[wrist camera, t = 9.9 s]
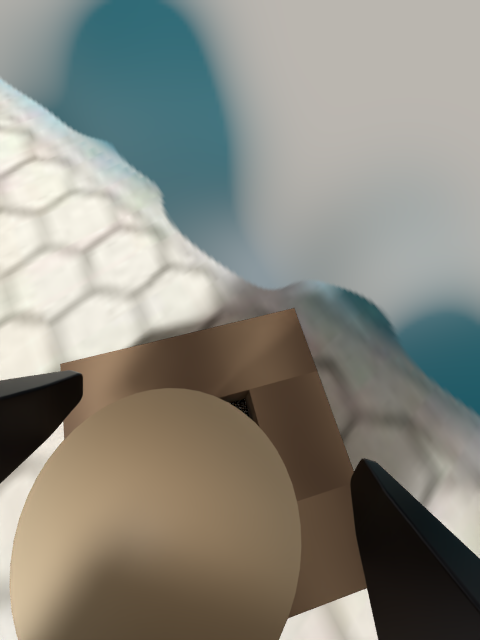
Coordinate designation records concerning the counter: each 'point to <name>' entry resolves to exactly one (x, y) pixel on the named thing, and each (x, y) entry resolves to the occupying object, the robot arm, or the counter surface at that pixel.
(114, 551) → the tall oak dowel
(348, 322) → the counter surface
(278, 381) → the walnut socket block
